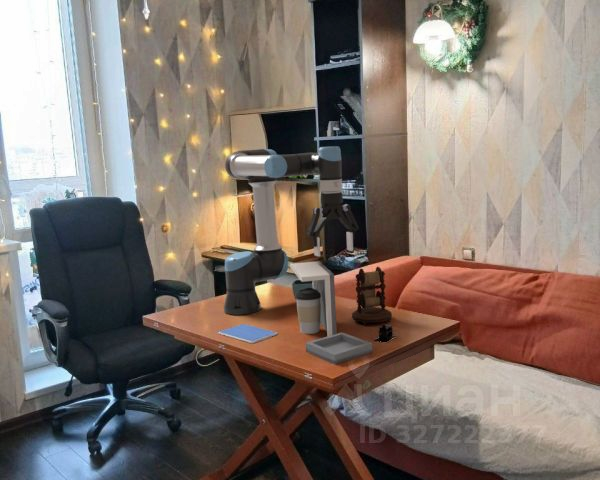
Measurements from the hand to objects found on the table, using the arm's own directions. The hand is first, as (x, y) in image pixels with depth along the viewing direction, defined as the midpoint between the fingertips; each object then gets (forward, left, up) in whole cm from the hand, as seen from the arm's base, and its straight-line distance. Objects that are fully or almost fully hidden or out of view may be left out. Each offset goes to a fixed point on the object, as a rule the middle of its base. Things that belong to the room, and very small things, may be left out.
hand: (333, 253), depth 204 cm
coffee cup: (-6, -8, -28) cm, 30 cm away
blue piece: (-19, -26, -29) cm, 43 cm away
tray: (+18, -14, -28) cm, 36 cm away
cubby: (-6, -6, -28) cm, 29 cm away
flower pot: (-39, +13, -28) cm, 50 cm away
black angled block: (+18, +7, -29) cm, 34 cm away
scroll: (0, +16, -28) cm, 33 cm away
